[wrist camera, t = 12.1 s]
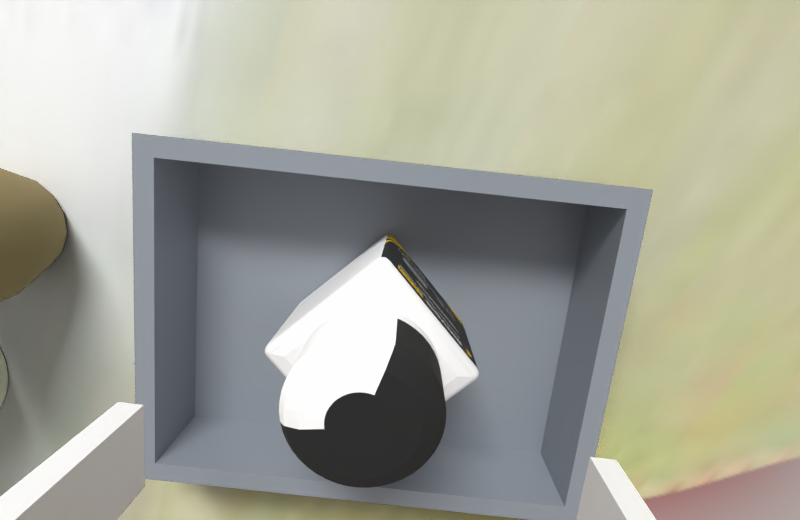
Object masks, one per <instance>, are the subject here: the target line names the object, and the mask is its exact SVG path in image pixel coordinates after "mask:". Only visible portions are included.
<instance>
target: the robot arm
mask: <svg viewBox="0 0 800 520" xmlns="http://www.w3.org/2000/svg"><path fill="white" fill-rule="evenodd" d="M144 487H145V472H144V405H140V404H132V403H123V402H117V403H116V404H115V405H114V406H112V407H111V408H110V409H109V410H107V411H106V412H105V413H104V414H102V415H101V416H100V417H99V418H97V419H96V420H95V421H94V422H92V423H91V424H90V425H89V426H87V427H86V428H85V429H84V430H83V431H81V432H80V433H79V434H78V435H76V436H75V437H74V438H73V439H71V440H70V441H69V442H68V443H66V444H65V445H64V446H63V447H61V448H60V449H59V450H58V451H56V452H55V453H54V454H53V455H51V456H50V457H49V458H48V459H46V460H45V461H44V462H43V463H42V464H40V465H39V466H38V467H37V468H35V469H34V470H33V471H32V472H30V473H29V474H28V475H27V476H25V477H24V478H23V479H22V480H20V481H19V482H18V483H17V484H15V485H14V486H13V487H12V488H10V489H9V490H8V491H7V492H5V493H4V494H3V495H2V496H1V497H0V520H117V519H118V518H119V516H120V515H121V514H122V513H123V512H124V511H125V509H126V508H127V507H128V506H129V505H130V503H131V502H132V501H133V500H134V499H135V497H136V496H137V495H138V494H139V493H140V491H141V490H142V489H143V488H144ZM576 520H656V519H655V517H654V516H653V514H652V513H651V511H650V510H649V508H648V507H647V505H646V504H645V502H644V501H643V499H642V498H641V496H640V495H639V493H638V492H637V490H636V489H635V487H634V486H633V484H632V483H631V481H630V480H629V478H628V477H627V475H626V474H625V472H624V471H623V469H622V468H621V466H620V465H619V463H618V462H617V460H613V459H604V458H595V457H590V458H589V463H588V468H587V472H586V477H585V481H584V486H583V491H582V495H581V500H580V504H579V509H578V514H577V518H576Z"/></svg>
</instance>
